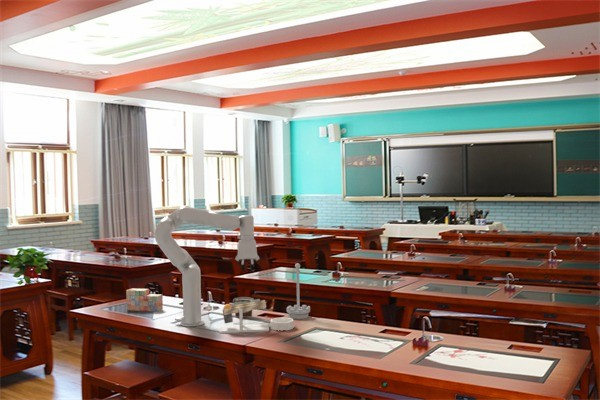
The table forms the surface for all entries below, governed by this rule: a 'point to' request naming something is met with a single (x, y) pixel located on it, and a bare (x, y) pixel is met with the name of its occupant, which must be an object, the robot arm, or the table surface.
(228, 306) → the ball
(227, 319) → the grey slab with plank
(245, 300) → the food container
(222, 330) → the catapult stand
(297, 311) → the flag stand
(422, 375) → the table surface
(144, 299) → the stack of blocks
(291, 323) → the white bowl
